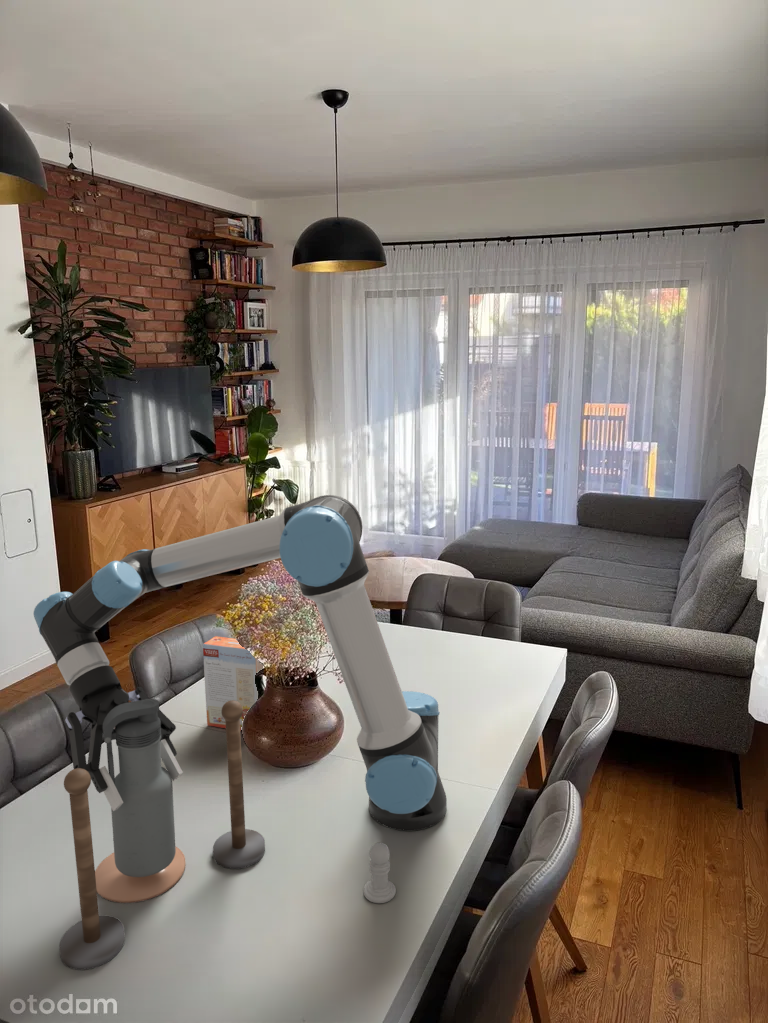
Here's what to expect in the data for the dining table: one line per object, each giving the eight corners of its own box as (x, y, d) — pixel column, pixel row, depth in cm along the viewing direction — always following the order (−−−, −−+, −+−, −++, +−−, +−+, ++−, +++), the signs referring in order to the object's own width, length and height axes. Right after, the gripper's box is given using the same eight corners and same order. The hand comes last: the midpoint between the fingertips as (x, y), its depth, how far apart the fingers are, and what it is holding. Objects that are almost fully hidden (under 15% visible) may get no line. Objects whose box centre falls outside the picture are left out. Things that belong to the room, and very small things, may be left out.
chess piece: (400, 901, 122) (400, 851, 120) (368, 907, 120) (367, 857, 119) (390, 879, 127) (390, 831, 125) (359, 885, 125) (359, 837, 124)
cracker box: (270, 723, 181) (267, 641, 177) (258, 735, 176) (255, 650, 172) (219, 714, 186) (215, 634, 182) (206, 726, 180) (201, 643, 176)
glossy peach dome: (203, 857, 133) (203, 854, 133) (144, 913, 119) (143, 910, 119) (137, 836, 139) (136, 833, 139) (73, 887, 125) (73, 884, 125)
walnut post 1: (137, 934, 115) (123, 761, 109) (93, 977, 107) (75, 793, 101) (92, 917, 119) (77, 748, 113) (46, 957, 111) (27, 778, 105)
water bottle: (115, 886, 121) (104, 724, 115) (110, 851, 129) (99, 698, 124) (180, 870, 125) (172, 712, 119) (171, 836, 133) (163, 688, 128)
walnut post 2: (274, 843, 136) (268, 695, 131) (246, 874, 128) (238, 717, 123) (233, 831, 140) (225, 686, 134) (202, 860, 132) (193, 707, 126)
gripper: (140, 665, 140) (197, 771, 133) (16, 709, 122) (75, 833, 116) (155, 645, 135) (215, 753, 129) (29, 688, 118) (91, 815, 111)
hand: (149, 791), depth 122 cm, fingers closed on water bottle, 10 cm apart
